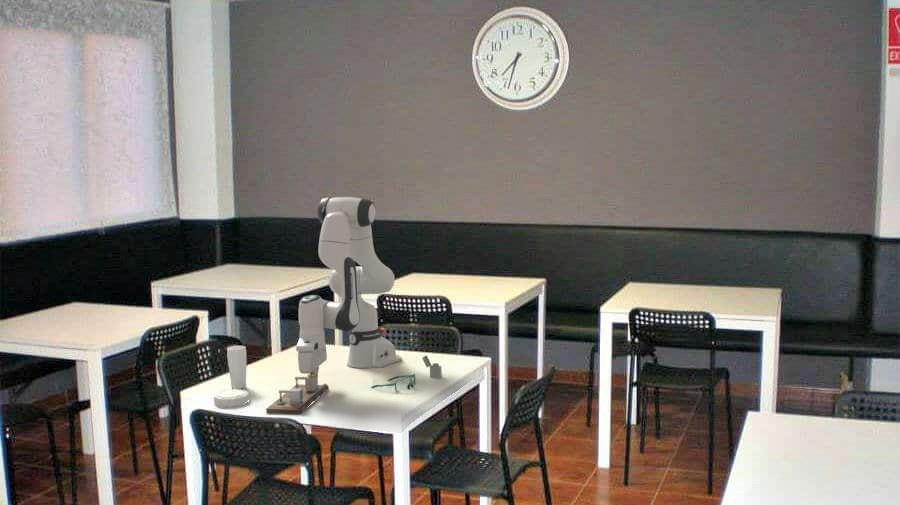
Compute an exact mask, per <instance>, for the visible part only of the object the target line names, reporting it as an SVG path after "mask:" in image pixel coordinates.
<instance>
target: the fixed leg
mask: <svg viewBox="0 0 900 505" xmlns="http://www.w3.org/2000/svg"><path fill="white" fill-rule="evenodd" d="M321 385H322V386H321V387H320V388H318V389H317V390H316V391H315V392H314V393H313V394H311V395H310V396H309V397H308V398H307V399H306V400H305V401H303V390H302V389H292V388H290V389H291V390H290V389H279V390H278V393H279V398H280V402H282V396H283V394H285V393H289V396H290V405H294V406H298V409H301V408H302V407H303V406H305V405H306V404H307V403H308V402H309V401H310V400H311V399H312V398H314V397H315V396H316V395H317V394H318V393H319V392H320V391H321V390H323V389H324V388H325V387H326V386H327V385H328V384H327V383H322V384H321Z"/></svg>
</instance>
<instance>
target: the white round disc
mask: <svg viewBox="0 0 900 505" xmlns="http://www.w3.org/2000/svg"><path fill="white" fill-rule="evenodd" d="M248 400H249V401H250V392H249V391H248V390H243V389H233V388H232V389H224V390H222V391H221V390H220V391H219V392H217V393H215V394H214V395H213V401H214V402H213V404H214V405H215V406H216V407H220V408H235V407H240V406H244V404H245V402H247V401H248ZM245 405H246V404H245Z"/></svg>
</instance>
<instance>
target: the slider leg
mask: <svg viewBox="0 0 900 505" xmlns="http://www.w3.org/2000/svg"><path fill="white" fill-rule="evenodd" d="M294 380H295V385H296V388H298V384H299V381H298V380H303V381H304V385H305V387H306V391H316V390H317V389H318V385H319V381H318V380H319V374H318V375H315V374H314V373H307V375H306V376H294Z"/></svg>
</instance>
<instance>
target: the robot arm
mask: <svg viewBox="0 0 900 505" xmlns="http://www.w3.org/2000/svg"><path fill="white" fill-rule="evenodd" d="M376 210H377V209H376V205H375V204H374V202H373V201H372V200H370V199H368V198H363V197H362V198H359V197H353V196H343V197H341V196H337V197H332V196H328V197H324V198H322V199H321V200H320V201H319V203H318V205H317V212H316V213H317V217H318V220H319V222H320V223H321V229H320V233H319V241H318V251H317V252H318V257H319V260H320V261H321V262H322V263H323V264H324V265H325V266H326V267H327V268H329V269H331V270H332V271H330V274H329V277H328V286H329V288H330V289H331V291H332V292H333V293H334V294H336V295H337V296H338V297H339V298H340V299H341V302H338V301H329V300H325V299H323V298H322V297H321V296H320V295H318V294H311V295H306V296H303V297H302V298H301V299H300V301H299V304H298V323H299V328H300V329H299V338H298V342H297V344H296V346H295V347H296V348H295V350H296V352H298V353H297V363H298V370H299V373H300V374H310V373H314V374H315V375H318V376H319V371H320V370H319V369H320V366H321V365H322V364H324V362H326V361H327V359H328V358H327V357H328V354H327V344H326V335H325V333H326V332H325V329H331V330H339V331H343V332H347V333H348V340H349V349H348V350H349V351H348V359H347V364H346V365H347V367H348V366H349V367H352V368H357V369H358V368H360V369H364V368H365V369H368V368H377V369H378V368H382V367H385V366H388V365H391V364H394V363H396V362H398V361H402V360H403V359H402V358H403V357H402V356H401V355H399V354H397V353H396V348H395V345H394V344H393V343H392V342H391V341H390V340H388V339H386V338H385V337H383V335H382V334H386V332H387V329H386V328H384V327H381V328H380V327H379V323H378V310H377V308H376V307H375V306H374V304H372V303H369V302H368V301H366V300H364V298H363V297H362V295H380V294H384V293H389V292H391V291H392V289H393V287H394V286H395V283H396V282H395V281H396V279H395V274H394V273H393V270H392V269H391V268H390V267H388V266H386V265H385V264H384V263H382V261H381V260H380V259H379V257H378V256H377V254H376V252H375V247H374V242H373V232H372V224H373V223H374V221H375V219H376V212H377V211H376ZM356 263H357V264H358V265H359V266H356Z"/></svg>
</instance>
